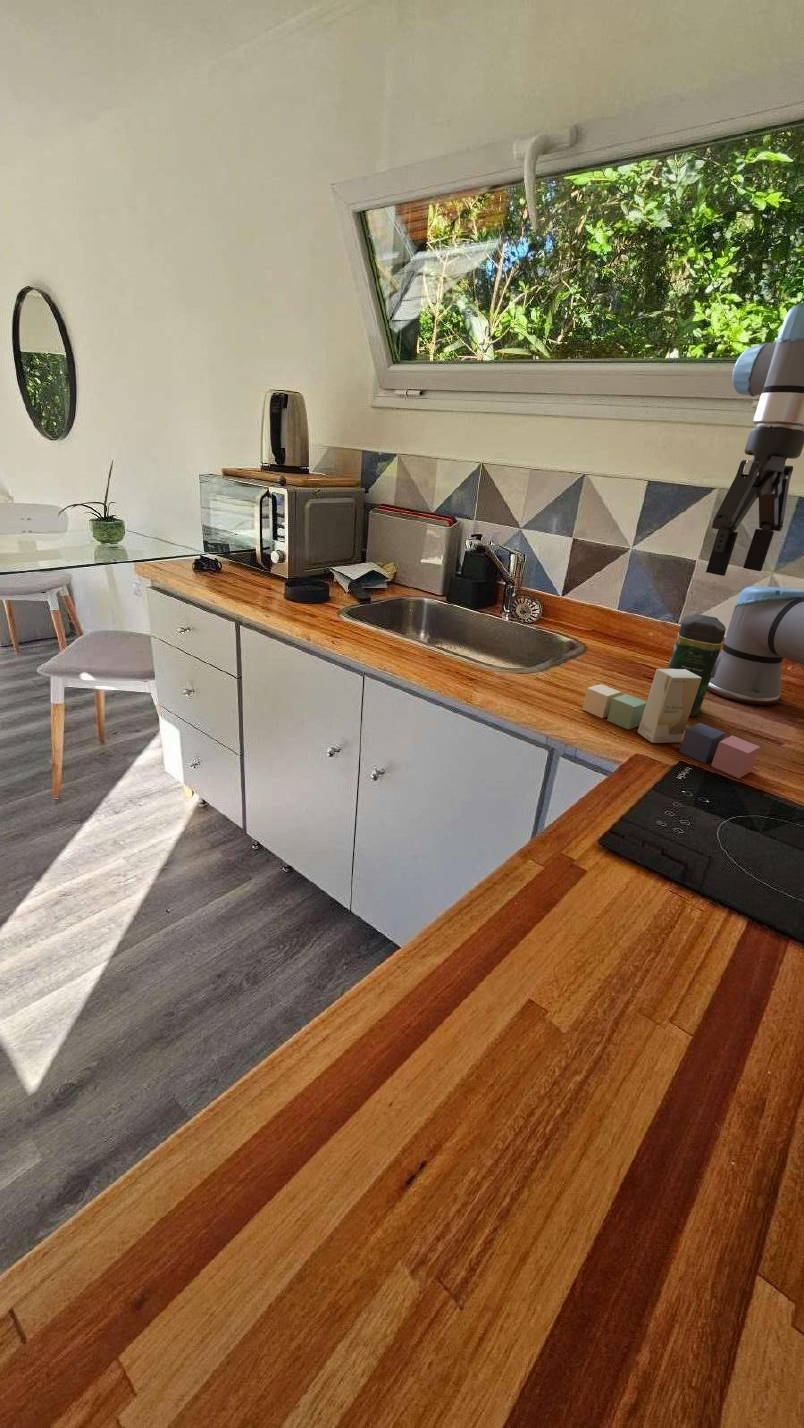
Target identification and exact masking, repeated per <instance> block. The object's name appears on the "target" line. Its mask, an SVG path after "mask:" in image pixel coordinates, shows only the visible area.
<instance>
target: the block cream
mask: <svg viewBox="0 0 804 1428" xmlns="http://www.w3.org/2000/svg"><path fill="white" fill-rule="evenodd" d="M621 695H622V691H620V690H617V689H615V688H613V687H610V686H608V685H605V684H602V683H600V684H596V685H592V686H588V687H587V688H586V692H585V696H584V700H583V705H582V708H581V709H582V711H585V712H587V713H589V714H591V715H594V716H596V717H598V718H600V719H604V718H608V715H609V711H610V707H611V703H612V699H613V698H615V697H618V696H621Z"/></svg>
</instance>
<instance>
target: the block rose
mask: <svg viewBox="0 0 804 1428" xmlns="http://www.w3.org/2000/svg"><path fill="white" fill-rule="evenodd" d="M760 749H761V746H760V745H757V744H755V743H753V742H749V741H747V740H745V739H742V738H740V737H737V736H735V735H730V736H727V737H726V738H724V739H723V740H722V741H720V742H719V744H718V747H717V750H716V753H715V756H714V759H712V762H711V764H710V767H712V768H714V769H716V770H719V771H722V772H723V773H726V774H728V775H731V776H732V777H734V778H737V779H740V778H742V777H744V776H746V775H747V774H749V773H751V772H752V770H753V768H754V765H755V763H756V760H757V757H758V754H759V752H760Z"/></svg>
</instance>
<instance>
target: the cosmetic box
mask: <svg viewBox="0 0 804 1428" xmlns="http://www.w3.org/2000/svg"><path fill="white" fill-rule="evenodd" d="M701 679H702V678H701V677H699V676H698V675H696V674H694V673H692V672H690V671H688V670H686V669H668V668H656V669H655V673H654V676H653V679H652V682H651V686H650V690H649V692H648V697H647V700H646V702H647V703H646V706H645V709H644V713H643V716H642V719H641V722H640V726H638V729H637V733H638V734H639V735H640V736H642V737H643V738H644V739H646V741H649V742H650V743H652V744H663V743H665V744H667V743H668V744H669V743H682V740H683V737H684V734H685V731H686V728H687V725H688V721H689V719H690V716H689V715H690V712H691V709H692V706H693V703H694V700H695V697H696V694H697V691H698V688H699V685H700V682H701Z"/></svg>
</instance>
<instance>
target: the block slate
mask: <svg viewBox="0 0 804 1428" xmlns="http://www.w3.org/2000/svg"><path fill="white" fill-rule="evenodd" d="M725 737H726V732H724V731H722V730H720V729H717V728H714V727H712V726H709V725H707V724H704V723H701V722H698V723H694V724H693V725H690V726H688V727H685V730H684V733H683V736H682V739H681V744H680V747H679V750H678V753H680V754H682V755H685V756H687V757H689V758H691V759H694V760H696V761H697V762H698V761H699V762H701V763H703V764H706V763H708V762H710V761H713V759H714V756H715V753H716V750H717V747H718V744H719V742H720V741H722V740H724V739H725Z"/></svg>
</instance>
